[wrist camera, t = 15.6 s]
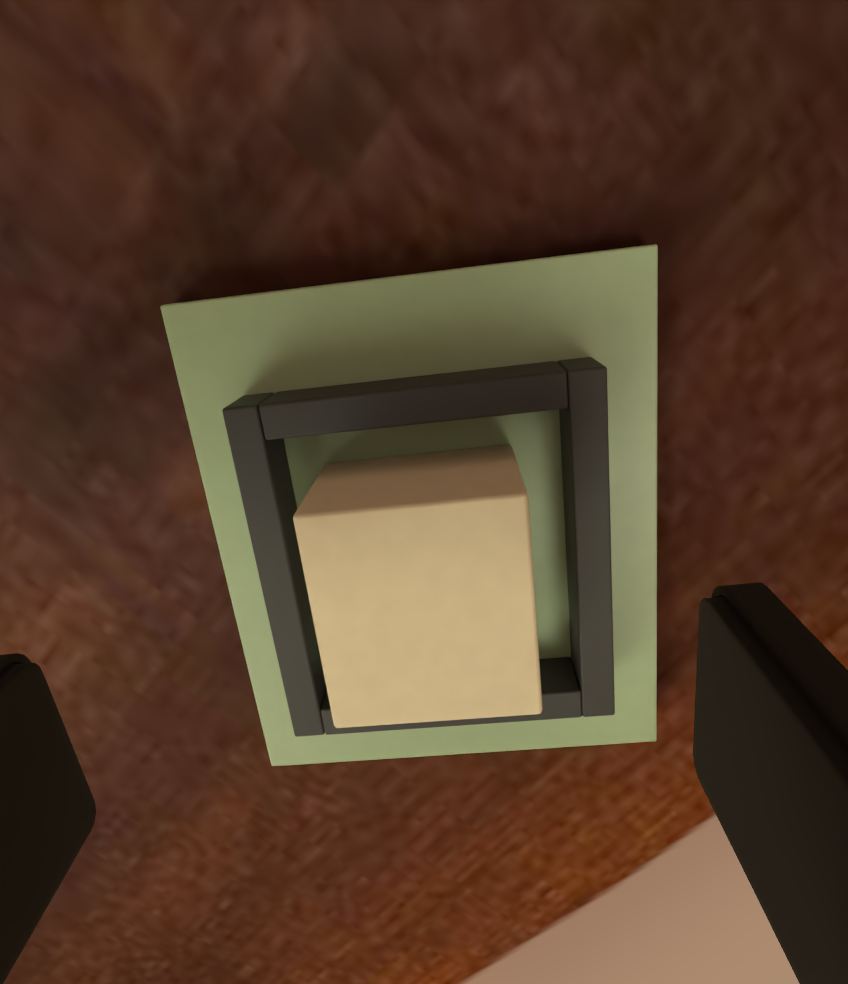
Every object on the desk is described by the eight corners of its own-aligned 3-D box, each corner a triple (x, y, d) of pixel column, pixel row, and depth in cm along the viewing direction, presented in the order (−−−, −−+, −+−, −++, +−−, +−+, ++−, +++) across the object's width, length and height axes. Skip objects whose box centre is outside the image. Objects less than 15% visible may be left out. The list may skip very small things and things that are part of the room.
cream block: (325, 462, 16) (291, 515, 12) (511, 443, 15) (528, 493, 12) (355, 640, 17) (333, 730, 14) (525, 627, 17) (543, 715, 14)
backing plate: (173, 303, 15) (127, 310, 13) (647, 244, 14) (682, 241, 12) (277, 747, 20) (256, 807, 17) (648, 722, 19) (674, 782, 17)
